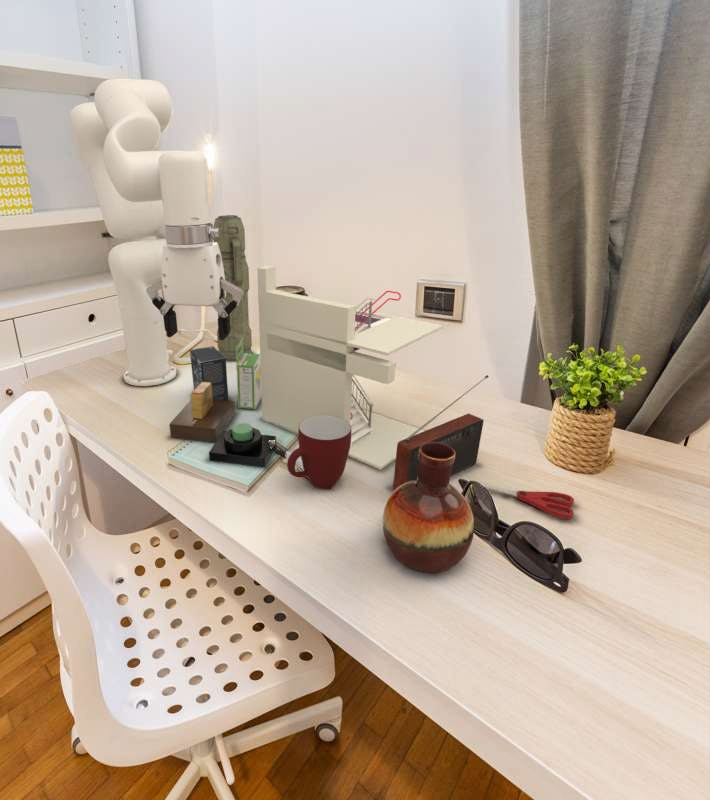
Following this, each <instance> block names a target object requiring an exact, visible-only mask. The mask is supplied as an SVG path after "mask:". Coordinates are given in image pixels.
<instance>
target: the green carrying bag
mask: <svg viewBox="0 0 710 800" xmlns="http://www.w3.org/2000/svg"><path fill="white" fill-rule="evenodd" d="M213 227H215V228H219V229H220V237H215V238H214V240H213V242H215V243H218V245H219V249H220V253H221V258H222V263H223V268H224V275H225V280H226V281H228V282H230V283H232V284H233V285H235V286H237V287H239V288H241V289H242V290H243V291H244V293H243V296H242V298H241V300H240V302H239V305H238V306H237V307H236V308H235V309H234V310H233V311H232V312H231V313H230V333H229V334H228V336H227V337H226V338H225V339H224V340H220V339H219V332H218V330H217V331H216V337H217V338H216V339H217V348H218V351H219V352H220V353H221V354H222V355H223V356H224V357H226V362H227V361H228V362H236V347H237V346H238V344H239V343H240V341H241V340H242V338H243V349H244V353H248V354H253V353H252V346H253V341H252V340H253V339H252V337H253V336H252V329H251V327H250V317H249V290H250V275H249V274H250V271H249V269H250V268H249V265H248V263H247V260H246V259H247V256H246V235H245V234H246V233H245V227H244V224H243V220H242V218H241V217H240V216H238V215H237V214H235V215H234V214H227V215H219V216H217V217H215V218H214V222H213ZM232 297H233V296H232V294H230V293H229V292H227V291H226V297H225V299H224V300H225V301H226V303H227V304H229V303H230V302H231V300H232ZM219 317H220V314H219V313H218V312H217V319H218V318H219ZM241 349H242V346H241V347H240V348H239V351H238V354H239V352H240V351H241Z"/></svg>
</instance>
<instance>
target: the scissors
mask: <svg viewBox="0 0 710 800" xmlns="http://www.w3.org/2000/svg"><path fill="white" fill-rule="evenodd" d="M481 485H482V486H483V487H482V488H486V489H488V490H493V491H495V492H496V491H497V492H499V493H505V494H508V495H511V496H514V497H516V498H517V499H518V500H520V501H522V502H525V503H527V504H529V505H531V506H533V507H535V508H536V509H539V510H541V511H544V512H545V513H547V514H550V515H552V516H554V517H558V518H562V519H566V520H570V519H572V518H573V517H574V510H573V509H572V508H571V507H572V506H573V505H574V501H575V499H574V497H573V496H571V495H569V494H566V493H562V492H556V491H527V490H518V491H512V490H507V489H503V488H498V487H494V486H489V485H485V484H481Z"/></svg>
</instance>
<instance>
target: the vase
mask: <svg viewBox="0 0 710 800" xmlns="http://www.w3.org/2000/svg"><path fill="white" fill-rule="evenodd" d="M454 459H455V451H454V449H453V448H452V447H450V446H448V445H446V444H443V443H438V442H428V443H424V444H422V445H421V446H420V448H419V464H418V477H417V478H416V479H412V480H410V481H407V482H405V483H403V484H402V485H400V486H399V487H398V488H397V489H394V490H393V491H392V493H391V494H390V495H389V496H388V499H386V502H385V504H384V508H383V514H382V529H383V530H382V531H383V536H384V538H385V539H384V540H385V542H386V544H387V547H388V549H389V551H390V552H391V553H392V554H393V556H394V557H395V558H396V559H397V560H398V561H399V562H400V563H402V564H404V565H405V566H407V567H409V568H411V569H413V570H415V571H419V572H425V573H438V572H439V573H440V572H444V571H448V570H449V569H451V568H453V567H455V566H456V565H458V564H459V563H460V562H461V561H462V559H463V558H465V556H466V555H467V553H468V551H469V549H470V547H471V545H472V542H473V539H474V534H475V518H474V513H473V510H472V507H471V505H470V504H469V502H468V500H467V498H466V497H465V495H463V494H462V492H461V491H460V490H458V489H457V488H456V487H455V486H454V485H452V484H451V483H450V481H451V477H452V476H451V471H452V467H453V463H454Z"/></svg>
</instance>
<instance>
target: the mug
mask: <svg viewBox="0 0 710 800" xmlns="http://www.w3.org/2000/svg"><path fill="white" fill-rule="evenodd" d="M297 436H298V437H297V439H298V448H296V449H294V450H293V451H292V452H291V453H290V455H289V456H288V459H287V461H286V462H287V463H286V465H287V466H286V468H287V471H288V473H289V474H290V475H291V476H293V477H295V478H298V479H299V478H307V479H308V480H309V481H310V483H311V484H312V486H314V487H316V488H318V489H331V488H333V487H334V486H335V485H336V484H337V483H338V482H339V480H340V479H341V477H342V476H343V474H344V472H345V470H346V469H345V468H346V465H347V461H348V457H349V456H348V454H349V450H350V445H351V425H350V424H349V423H348V422H347V421H345V420H344V419H342V418H339V417H335V416H329V415H318V416H312V417H309V418H306V419H304V420H303V421H302V422H301V423H300V424H299V430H298V435H297ZM299 458H301V463H302V468H303V470H301V471H297V470H296V463H297V461H298V459H299Z"/></svg>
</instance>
